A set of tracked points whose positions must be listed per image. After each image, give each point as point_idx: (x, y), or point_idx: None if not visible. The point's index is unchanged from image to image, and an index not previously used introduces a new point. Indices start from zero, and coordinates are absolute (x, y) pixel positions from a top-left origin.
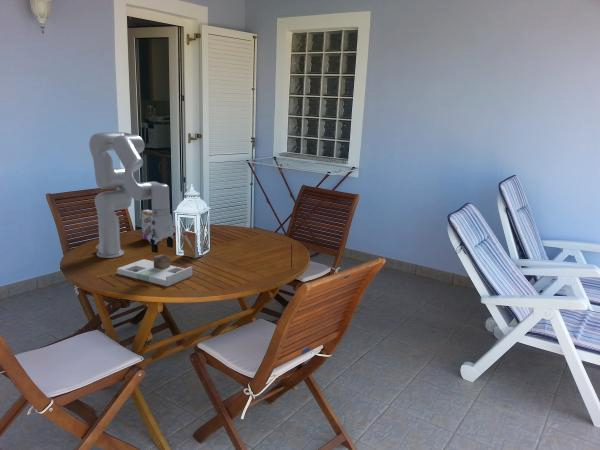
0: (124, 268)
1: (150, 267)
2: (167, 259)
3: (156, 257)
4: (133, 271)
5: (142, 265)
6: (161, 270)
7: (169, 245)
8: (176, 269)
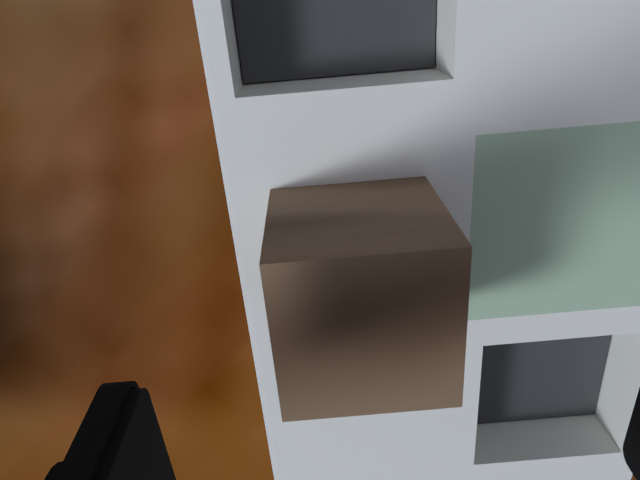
0: (598, 470)
1: None
2: (324, 235)
3: (461, 360)
4: (501, 415)
5: (436, 428)
6: (459, 158)
7: (150, 476)
8: (237, 86)
